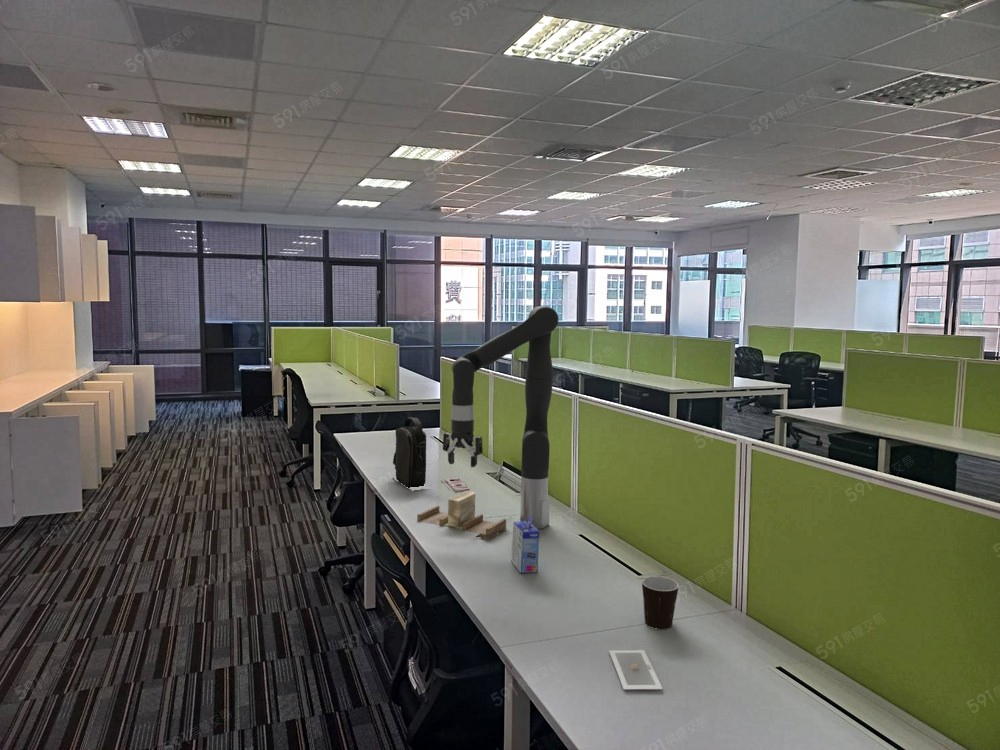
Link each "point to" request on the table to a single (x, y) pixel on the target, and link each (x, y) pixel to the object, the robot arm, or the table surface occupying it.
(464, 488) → the plaque
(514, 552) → the ink cartridge box
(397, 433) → the shoulder bag
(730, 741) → the table surface
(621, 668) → the touchpad
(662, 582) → the coffee mug
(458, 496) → the tall beige wooden block
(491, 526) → the notched rack
